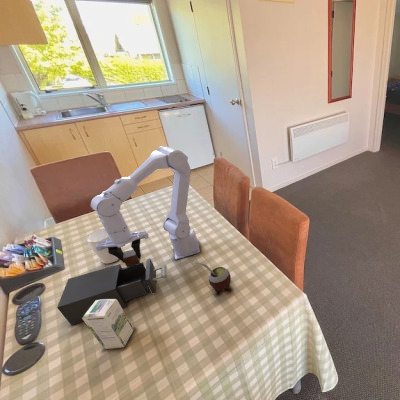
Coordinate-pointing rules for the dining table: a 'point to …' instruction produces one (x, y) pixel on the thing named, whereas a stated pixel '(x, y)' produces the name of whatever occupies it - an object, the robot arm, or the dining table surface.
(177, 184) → the robot arm
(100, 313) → the syrup box
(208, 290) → the dining table surface
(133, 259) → the block
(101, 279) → the black drawer box
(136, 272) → the dark grey drawer
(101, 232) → the cup
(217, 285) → the mate gourd
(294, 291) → the dining table surface
